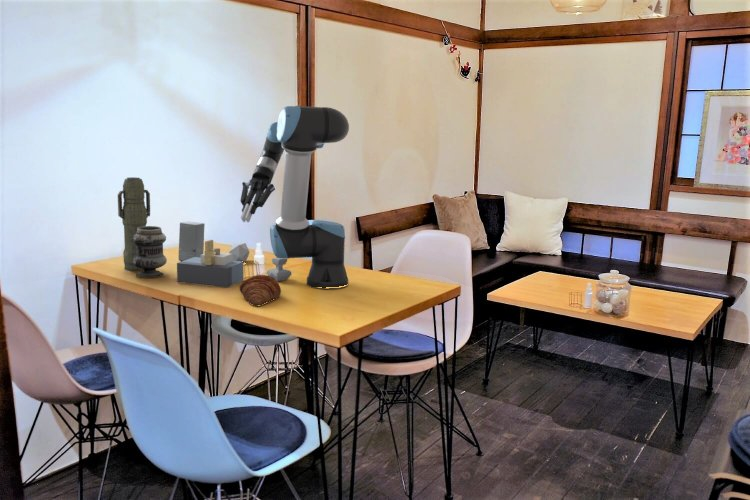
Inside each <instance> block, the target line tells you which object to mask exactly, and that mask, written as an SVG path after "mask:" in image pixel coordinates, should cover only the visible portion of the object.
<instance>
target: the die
mask: <svg viewBox="0 0 750 500" xmlns="http://www.w3.org/2000/svg"><path fill="white" fill-rule="evenodd" d="M228 253H232V254H233V261H241V262H242V261H246V262H247V260H248V257H249V255H250V250H249V247H248V245H247V243H246V242H232V244H231V247H230V249H229V251H228Z"/></svg>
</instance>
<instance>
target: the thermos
mask: <svg viewBox="0 0 750 500" xmlns="http://www.w3.org/2000/svg"><path fill="white" fill-rule="evenodd" d="M122 197H123V199H122ZM145 201H146V203H145ZM117 210H118V211H117V215H118V217H119V218H120V219H122V222H121V223H122V226H123V233H124V235H123V237H124V241H123V242H124V250H123V255H122V256H123V264H124V268H123V269H124V270H126V271H135V272H137V271H139V272H140V271H144V269H142V268H139V267H137V266H135V265H134V264H133V258H134V256H135V255H136V243H134V242H133V240H132V238H133V235H134V234H136V232H137V228H138V227H142V226H147V223H148V217H151V193H150V192H149V190H148V189H145V183H144V181H143V179H142V178H140V177H136V176H135V177H126V178H124V181H123V184H122V190H120V191H119V192H118V193H117Z"/></svg>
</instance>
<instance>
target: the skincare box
mask: <svg viewBox="0 0 750 500" xmlns="http://www.w3.org/2000/svg"><path fill="white" fill-rule="evenodd" d="M178 238H179V239H178V261H180V262H182V261H184V260H187V259H190V258H193V257H200V258H201V255H202V254H204V251H205V223H204V222H203V223H202V222H197V221H191V220H190V221H182V222H181V221H180V222H179V236H178Z"/></svg>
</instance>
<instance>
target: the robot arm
mask: <svg viewBox="0 0 750 500" xmlns="http://www.w3.org/2000/svg"><path fill="white" fill-rule="evenodd" d="M349 130H350V124H349V121H348V118H347V117H346V115H345V114H344V113H342V111H340V110H337V109H336V108H333V107H328V106H327V107H326V106H323V107H322V106H307V105H306V106H303V105H295V106H294V105H290V106H284V108H282V110H281V111H280V113H279V115H278V119H277V121H275V122H273V123H271V124H270V125H269V128H268V130H267V132H266V137H265V141H264V144H263V149H262V151H261V154H260V156H259V159H258V161H257V162H256V166H255V168H254V170H253V173H252V174H251V175H252V177H251V178H250V180H249V181H248V182H245V181H243V182H242V183H241V185H242V189H241V191H242V192H241V197H240V200H239V201H240V204H241V205H242V208H241V212H242V213H241V215H240V219H241V221H242V222H243V223H250V222H251V219H252V216H253V215H255V214H256V211H257V209H258V208H263V206H264V205H265V203H266V202H267V200H268V198H270V196H271V194H272V193H273V192H274V191H276V188H275V186H274V184H273V183H272V181H273V178H274V175H275V173H276V170H277V168H278V165H279V163H280V160H281V159H282V158H281V157H282V155H283V154H284V166H283V167H284V169H283V180H282V181H283V182H282V191H281V192H282V194H281V195H282V196H281V207H280V216H278V217H277V218H276V219H275V224H272V225H271V226H270V228H269V235H270V236H269V237H270V238H269V239H270V244H271V250H272V252H273V255H274V256H275V258H286V259H287V260H288V259H300V258H311V265H310V268H309V272H308V275H307V276H306V286H308V285H309V286H308V287H310V286H311V287H310V288H313V287H322V288H326V287H339V286H344V285H347V284H348V285H349V277H348V274H347V269H346V266H345V239H346V236H345V235H346V234H345V227H344V225H343V224H342V223H340V222H339V223H338V222H334V221H330V220H323V219H322V220H320V219H314V220H313V221H312V222H311V223H312V224H310V221H309V220H308V219H307V217H306V216H307V205H308V194H309V185H310V184H309V182H310V173H311V172H310V171H311V162H312V161H311V160H312V154H313V153H314V152H316V151H317V149H323V147H324V145H325V144H331V143H338V142H341V141H343V140H345V138H346V137H347V136H348V134H349ZM284 151H285V153H284Z"/></svg>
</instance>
